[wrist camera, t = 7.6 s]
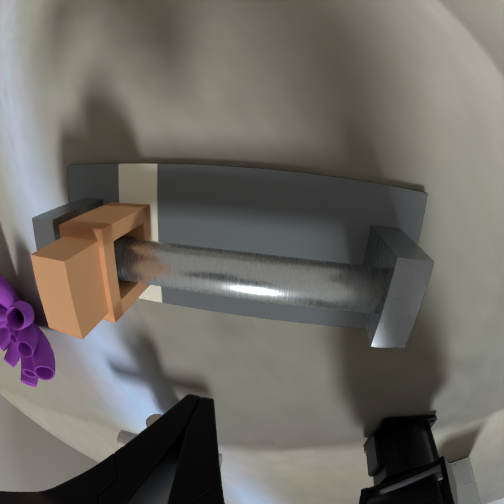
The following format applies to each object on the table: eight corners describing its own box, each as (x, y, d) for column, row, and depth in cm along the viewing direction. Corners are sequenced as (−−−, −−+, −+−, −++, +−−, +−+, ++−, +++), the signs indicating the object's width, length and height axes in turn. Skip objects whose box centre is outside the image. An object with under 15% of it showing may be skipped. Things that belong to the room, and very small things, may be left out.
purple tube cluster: (9, 262, 28) (-37, 244, 19) (93, 325, 29) (52, 326, 19) (-18, 336, 25) (-64, 335, 16) (61, 404, 26) (19, 427, 17)
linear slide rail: (400, 228, 17) (434, 262, 12) (382, 299, 19) (404, 348, 14) (82, 198, 19) (32, 217, 14) (89, 260, 21) (45, 290, 16)
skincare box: (432, 467, 27) (443, 525, 17) (469, 455, 26) (484, 508, 16) (415, 492, 31) (422, 541, 21) (448, 482, 29) (458, 529, 20)
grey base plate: (425, 192, 16) (428, 193, 16) (390, 327, 20) (392, 330, 19) (70, 165, 19) (66, 165, 18) (83, 283, 23) (80, 285, 22)
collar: (150, 204, 17) (67, 248, 10) (153, 280, 19) (90, 350, 12) (110, 202, 18) (24, 241, 11) (117, 274, 20) (48, 335, 12)
